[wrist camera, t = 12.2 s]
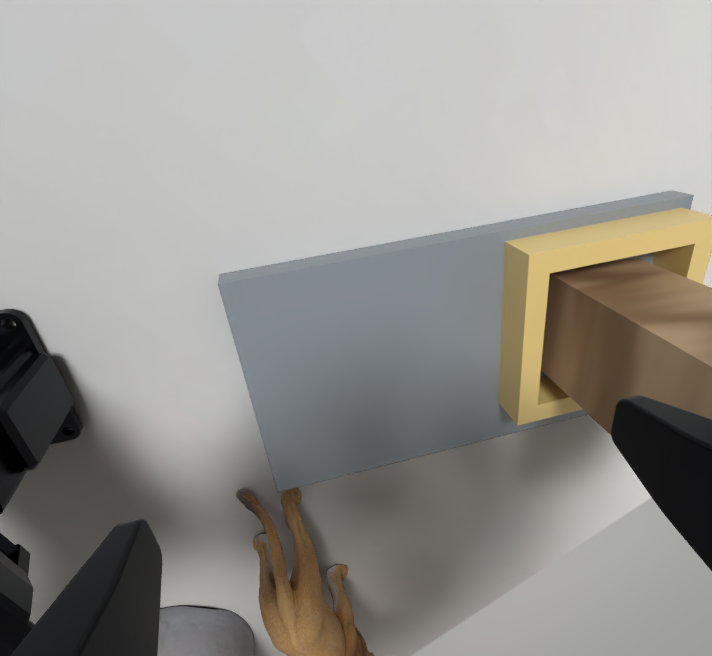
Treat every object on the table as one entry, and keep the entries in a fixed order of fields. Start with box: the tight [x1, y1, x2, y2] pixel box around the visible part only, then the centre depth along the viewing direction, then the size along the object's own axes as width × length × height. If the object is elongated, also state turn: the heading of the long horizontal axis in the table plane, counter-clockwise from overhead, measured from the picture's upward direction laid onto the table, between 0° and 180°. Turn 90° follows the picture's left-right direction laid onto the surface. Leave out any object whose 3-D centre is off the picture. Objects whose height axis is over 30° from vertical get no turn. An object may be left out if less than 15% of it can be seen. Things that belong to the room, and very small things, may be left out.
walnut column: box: [541, 258, 712, 434], centre depth 17 cm, size 5×5×13 cm
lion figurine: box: [236, 488, 374, 656], centre depth 24 cm, size 15×5×9 cm, turn 26°
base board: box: [218, 191, 712, 492], centre depth 22 cm, size 22×12×3 cm, turn 96°
